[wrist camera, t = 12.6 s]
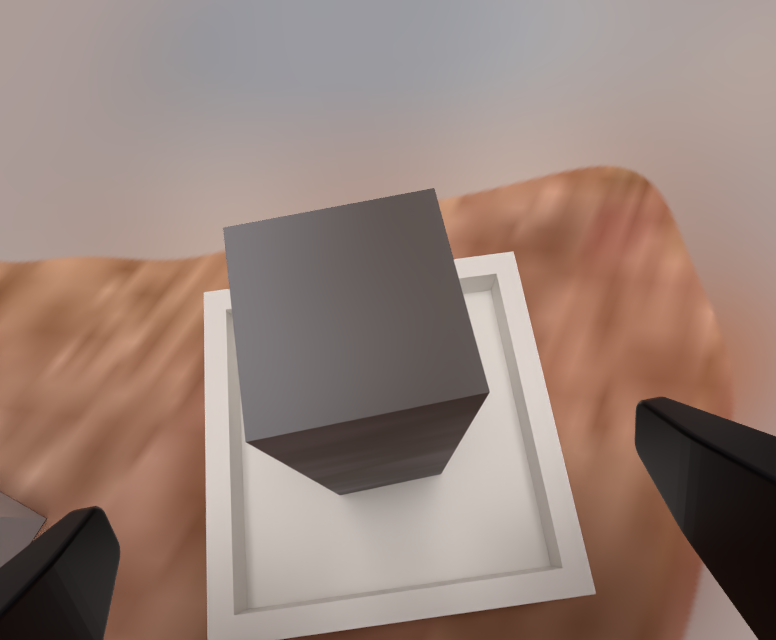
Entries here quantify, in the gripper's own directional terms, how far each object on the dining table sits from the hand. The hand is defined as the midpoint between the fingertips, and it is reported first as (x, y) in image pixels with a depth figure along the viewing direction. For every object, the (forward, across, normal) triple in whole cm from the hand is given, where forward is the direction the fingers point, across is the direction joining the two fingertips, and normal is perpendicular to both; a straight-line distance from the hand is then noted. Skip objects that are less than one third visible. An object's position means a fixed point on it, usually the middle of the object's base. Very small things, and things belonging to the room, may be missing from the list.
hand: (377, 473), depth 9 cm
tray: (+10, 0, +6) cm, 12 cm away
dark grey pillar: (+9, 0, +6) cm, 11 cm away
